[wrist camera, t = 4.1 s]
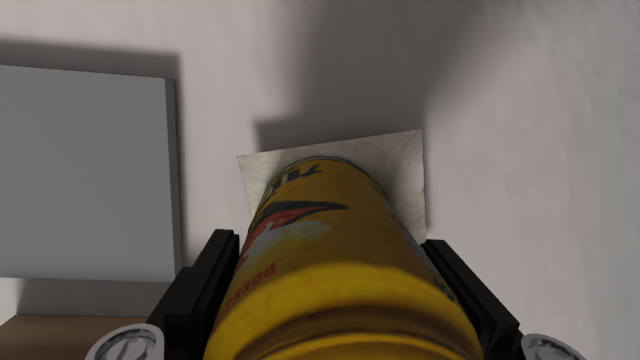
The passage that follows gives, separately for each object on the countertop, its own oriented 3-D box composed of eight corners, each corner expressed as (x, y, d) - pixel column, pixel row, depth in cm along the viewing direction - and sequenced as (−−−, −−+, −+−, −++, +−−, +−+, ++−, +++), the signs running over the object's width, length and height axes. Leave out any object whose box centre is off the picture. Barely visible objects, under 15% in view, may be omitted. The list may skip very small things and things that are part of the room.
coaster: (-64, 60, 13) (-93, 57, 12) (174, 79, 14) (164, 78, 13) (-16, 265, 16) (-37, 275, 15) (182, 272, 17) (175, 282, 16)
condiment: (237, 155, 14) (-73, 495, 2) (420, 128, 14) (961, 335, 2) (268, 288, 16) (182, 789, 5) (425, 264, 16) (721, 702, 5)
